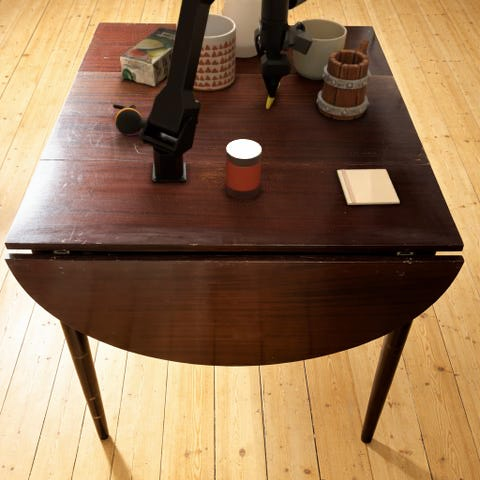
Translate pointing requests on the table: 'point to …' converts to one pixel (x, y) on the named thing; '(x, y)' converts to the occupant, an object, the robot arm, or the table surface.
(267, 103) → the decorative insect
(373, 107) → the table surface
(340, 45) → the planter
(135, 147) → the table surface
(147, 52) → the juice carton
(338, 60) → the mug
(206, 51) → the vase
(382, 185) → the napkin
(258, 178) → the can
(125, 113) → the character figurine
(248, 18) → the white rounded pot
